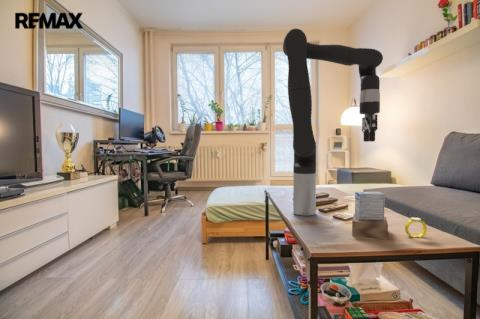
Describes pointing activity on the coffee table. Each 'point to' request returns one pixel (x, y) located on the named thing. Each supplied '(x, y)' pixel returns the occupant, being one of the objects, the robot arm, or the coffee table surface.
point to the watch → (415, 221)
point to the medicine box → (369, 205)
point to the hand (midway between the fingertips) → (369, 141)
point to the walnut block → (370, 228)
